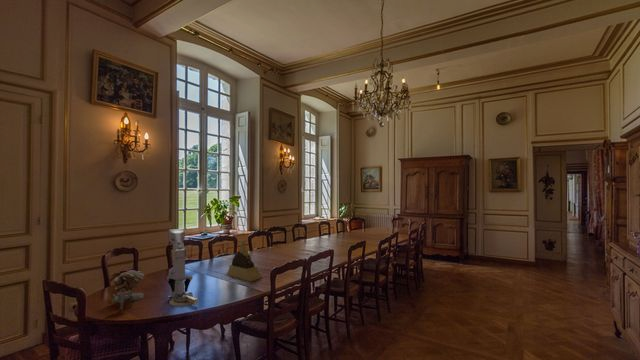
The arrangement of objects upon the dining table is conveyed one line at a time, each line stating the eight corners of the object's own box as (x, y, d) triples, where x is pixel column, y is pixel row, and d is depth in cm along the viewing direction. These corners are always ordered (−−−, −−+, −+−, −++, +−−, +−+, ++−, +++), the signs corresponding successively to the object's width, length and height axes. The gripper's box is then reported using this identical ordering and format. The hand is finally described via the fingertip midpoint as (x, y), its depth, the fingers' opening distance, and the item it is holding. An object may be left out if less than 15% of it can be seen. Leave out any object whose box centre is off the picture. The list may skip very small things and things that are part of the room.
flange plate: (176, 297, 213) (176, 295, 213) (200, 297, 213) (200, 295, 213) (164, 306, 197) (164, 304, 197) (191, 306, 197) (191, 304, 197)
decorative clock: (262, 277, 258) (262, 240, 259) (249, 281, 248) (250, 242, 249) (239, 271, 275) (239, 236, 276) (226, 275, 265) (227, 238, 265)
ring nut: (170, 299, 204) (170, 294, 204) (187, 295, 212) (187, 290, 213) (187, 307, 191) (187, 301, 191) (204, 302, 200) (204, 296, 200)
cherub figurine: (121, 293, 220) (122, 267, 220) (149, 292, 221) (149, 266, 222) (107, 303, 202) (107, 274, 202) (137, 302, 204) (137, 273, 204)
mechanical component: (110, 311, 189) (111, 294, 189) (130, 306, 196) (130, 290, 196) (112, 312, 187) (112, 295, 187) (132, 308, 194) (132, 291, 194)
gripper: (164, 270, 192) (164, 293, 192) (189, 270, 192) (189, 293, 192) (170, 267, 199) (169, 289, 199) (193, 267, 199) (193, 289, 199)
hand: (179, 291), depth 196 cm, fingers open, 7 cm apart
